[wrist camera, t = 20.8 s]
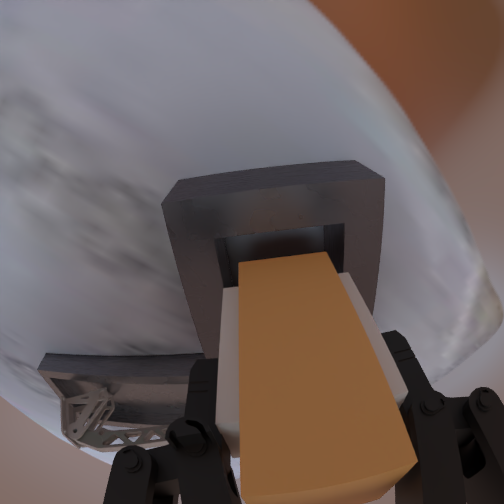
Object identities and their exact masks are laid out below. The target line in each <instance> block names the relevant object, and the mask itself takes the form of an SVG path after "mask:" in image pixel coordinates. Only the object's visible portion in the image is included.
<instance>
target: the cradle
mask: <svg viewBox="0 0 504 504" xmlns="http://www.w3.org/2000/svg"><path fill="white" fill-rule="evenodd" d="M197 359H206V357H205V355H204V353H201V354H184V355H160V356H87V355H64V354H48V353H46V354H45V356H44V358H43V360H42V361H41V363H40V365H39V367H38V369H37V370H38V372H39V373H40V374H41V376H42V377H43V378H44V379H45V381H46V382H47V383H48V384H49V386H50V387H51V388H52V389H53V391H54V392H55V393H56V394H57V395H58V397H59V398H60V399H61V396H64V397H65V399H67V398H71V397H75V396H79V395H83V394H87V393H88V392H90V391H94V390H98V389H101V388H105V387H106V388H107V393H108V397H112V396H113V399H114V405H115V409H114V411H113V412H112V414H111V415H110V416H109V418H108V419H107V421H106V422H105V424H104V425H110V426H119V427H129V428H147V427H155V426H163V425H170V424H171V423H172V422H174V421H175V420H176V419H178V418H181V417H184V414H185V406H186V398H187V393H188V391H187V390H188V384H189V375H190V370H191V368H192V367H193V365H194V363H195V362H196V360H197ZM100 397H105V392H104V391H102V392H101V394H100ZM88 398H89V396H88V397H84V398H81V399H88ZM63 401H64V400H63ZM70 405H71V406H72V407H73V408H74V407H78V406H82V405H86V404H70ZM107 406H112V404H111V400H109V401H108V402H107ZM95 407H96V406H95ZM109 411H110V410H105V412H104V413H103V415H102V417H101V419H100V420H99V422H98V424H100V423H101V422H102V421H103V419H104V418H105V416H106V415H107V414H108V412H109ZM93 414H94V413H91V414H90V416H89V418H88V420H87V421H86V422H88V421H89V420H90V418H91V417H92V416H93ZM80 415H81V413H77V416H78V418H79V416H80Z"/></svg>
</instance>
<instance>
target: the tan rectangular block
mask: <svg viewBox="0 0 504 504" xmlns="http://www.w3.org/2000/svg"><path fill="white" fill-rule="evenodd" d="M239 429H240V481H241V497H242V499H243V500H244V501H245V503H246V504H363V503H367V502H371V501H374V500H377V499H380V498H381V497H382V496H383V495H384V494H385V493H386V492H387V491H388V490H390V488H391V487H393V486H394V485H395V484H396V483H397V482H398V481H399V480H400V479H401V478H402V477H403V476H404V475H405V474H406V473H407V472H408V471H409V470H410V469H411V468H412V467H413V466H414V465H415V464H416V463H417V462H418V460H417V457H416V454H415V451H414V449H413V446H412V443H411V440H410V438H409V435H408V432H407V429H406V427H405V424H404V422H403V419H402V416H401V414H400V411H399V409H398V406H397V404H396V401H395V399H394V396H393V394H392V391H391V389H390V387H389V384H388V382H387V379H386V377H385V375H384V372H383V370H382V368H381V365H380V363H379V361H378V358H377V356H376V354H375V352H374V349H373V347H372V345H371V343H370V340H369V338H368V336H367V334H366V332H365V329H364V327H363V325H362V323H361V321H360V319H359V317H358V315H357V312H356V310H355V308H354V306H353V304H352V302H351V300H350V298H349V296H348V294H347V292H346V290H345V288H344V286H343V284H342V282H341V280H340V278H339V276H338V274H337V272H336V270H335V268H334V266H333V264H332V262H331V260H330V258H329V256H328V254H327V252H318V253H310V254H302V255H294V256H286V257H278V258H270V259H262V260H254V261H246V262H239Z"/></svg>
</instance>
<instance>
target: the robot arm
mask: <svg viewBox="0 0 504 504" xmlns="http://www.w3.org/2000/svg"><path fill="white" fill-rule="evenodd" d="M338 276H339V278H340V280H341V282H342V284H343V286H344V288H345V290H346V292H347V294H348V296H349V298H350V300H351V302H352V304H353V306H354V308H355V310H356V312H357V315H358V317H359V319H360V321H361V323H362V325H363V327H364V329H365V332H366V334H367V336H368V338H369V340H370V343H371V345H372V347H373V349H374V352H375V354H376V356H377V358H378V361H379V363H380V365H381V368H382V370H383V372H384V375H385V377H386V379H387V382H388V384H389V387H390V389H391V391H392V394H393V396H394V399H395V401H396V404H397V406H398V409H399V411H400V414H401V416H402V419H403V422H404V424H405V427H406V429H407V432H408V435H409V438H410V440H411V443H412V446H413V449H414V451H415V454H416V457H417V460H418V462H417V463H416V464H415V465H414V466H413V467H412V468H411V469H410V470H409V471H408V472H407V473H406V474H405V475H404V476H403V477H402V478H401V479H400V480H399V481H398V482H397V483H396V484H395V502H396V504H466V502H467V504H504V405H503V403H502V402H501V400H500V398H499V397H498V395H497V394H496V393H495V392H494V391H493V390H492V389H490V388H487V387H480V388H476V389H475V390H474V391H473V392H472V393H471V395H470V396H469V397H456V398H450V397H445V396H444V395H443V394H441V393H440V392H437V391H434V390H433V388H432V387H431V385H430V383H429V381H428V379H427V377H426V375H425V373H424V372H423V370H422V368H421V366H420V364H419V362H418V360H417V358H415V355H414V353H413V351H412V350H411V347H410V345H409V344H408V342H407V340H406V338H405V337H404V336H402V335H401V334H400V333H399V332H397V331H396V330H394V331H390V332H385V333H380V331H379V329H378V327H377V325H376V323H375V321H374V319H373V317H372V315H371V313H370V311H369V309H368V308H367V306H366V304H365V302H364V300H363V298H362V296H361V294H360V293H359V291H358V289H357V287H356V285H355V283H354V282H353V280H352V278H351V276H350V274H349V273H348V272H346V273H339V274H338ZM187 391H188V393H187V398H186V406H185V414H184V417H181V418H178V419H176V420H175V421H174V422H172V423H171V424H170V425H169V427H168V428H167V430H166V433H165V439H166V440H167V442H168V443H169V444H167V445H165V446H161V447H157V448H153V449H149V450H145V449H144V448H143V447H140V446H137V445H128V446H126V447H124V448H122V449H121V450H119V451H118V452H117V453H116V456H115V458H114V460H113V464H112V468H111V472H110V476H109V481H108V484H107V489H106V493H105V497H104V502H103V504H178V497H179V494H181V501H182V504H242V503H241V499H240V495H239V492H238V488H237V484H236V481H235V477H234V473H233V470H232V468H231V466H230V454H231V456H232V458H237V457H240V429H239V287H230V288H223V300H222V314H221V329H220V345H219V358H211V359H197V360H196V362H195V363H194V365H193V367H192V368H191V370H190V375H189V384H188V390H187Z"/></svg>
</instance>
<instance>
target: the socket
mask: <svg viewBox="0 0 504 504" xmlns="http://www.w3.org/2000/svg"><path fill="white" fill-rule="evenodd" d="M384 195H385V178H384V177H382V176H381V175H379V174H377V173H376V172H374V171H372V170H371V169H369V168H367V167H366V166H364V165H362V164H360V163H359V162H357V161H355V160H350V161H334V162H320V163H308V164H296V165H286V166H276V167H267V168H259V169H250V170H243V171H235V172H228V173H221V174H214V175H207V176H201V177H195V178H189V179H183V180H178V182H177V183H176V184H175V186H174V187H173V188H172V190H171V191H170V192H169V194H168V195H167V196H166V198H165V199H164V200H163V202H162V203H161V205H162V209H163V214H164V218H165V222H166V226H167V230H168V234H169V238H170V241H171V245H172V249H173V253H174V256H175V260H176V264H177V267H178V271H179V274H180V278H181V281H182V285H183V288H184V292H185V295H186V298H187V302H188V305H189V308H190V312H191V315H192V318H193V321H194V324H195V327H196V330H197V334H198V337H199V340H200V343H201V346H202V349H203V352H204V355H205V357H206V359H211V358H219V345H220V329H221V314H222V300H223V288H230V287H233V282H232V276H231V271H230V266H229V260H228V255H227V249H226V244H225V238H224V237H231V236H239V235H247V234H255V233H263V232H271V231H279V230H288V229H296V228H304V227H313V226H322V225H324V252H327V254H328V256H329V258H330V260H331V262H332V264H333V266H334V268H335V270H336V272H337V274H339V273H346V272H348V273H349V274H350V276H351V278H352V280H353V282H354V283H355V285H356V287H357V289H358V291H359V293H360V294H361V296H362V298H363V300H364V302H365V304H366V306H367V308H368V309H369V311H370V313H371V315H373V309H374V302H375V295H376V288H377V280H378V272H379V263H380V254H381V243H382V231H383V216H384Z"/></svg>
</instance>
